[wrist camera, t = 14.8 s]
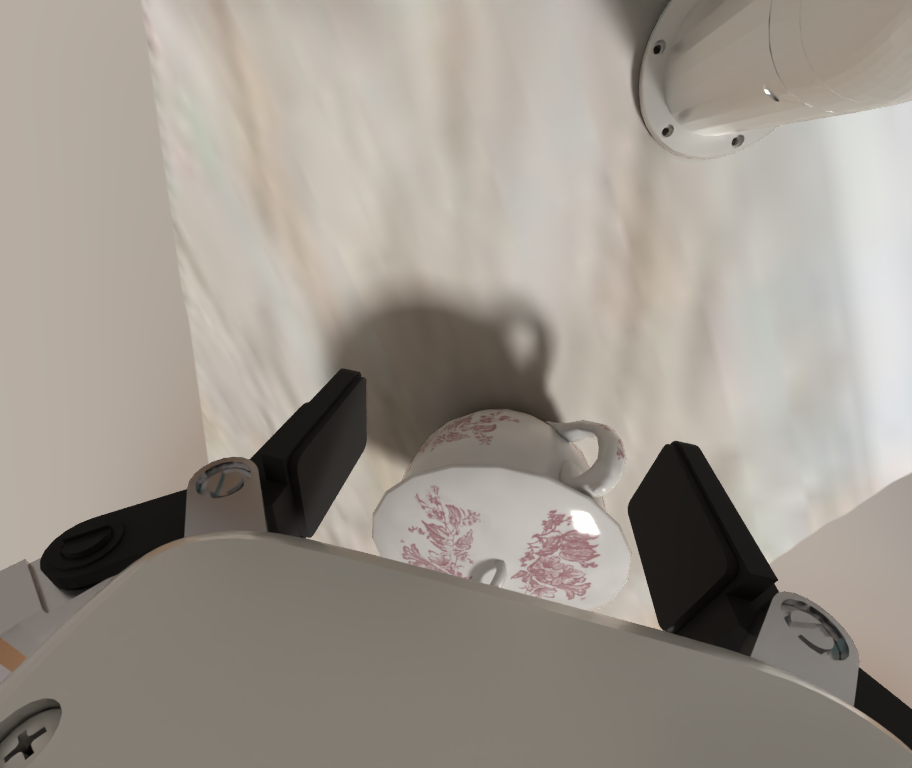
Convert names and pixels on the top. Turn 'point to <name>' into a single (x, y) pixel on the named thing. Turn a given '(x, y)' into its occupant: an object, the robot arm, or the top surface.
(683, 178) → the top surface
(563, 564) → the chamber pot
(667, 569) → the robot arm
